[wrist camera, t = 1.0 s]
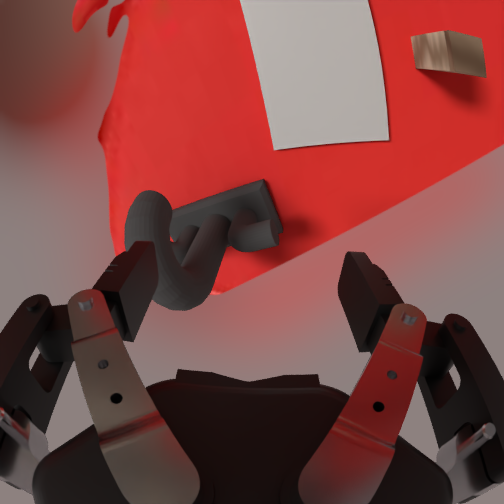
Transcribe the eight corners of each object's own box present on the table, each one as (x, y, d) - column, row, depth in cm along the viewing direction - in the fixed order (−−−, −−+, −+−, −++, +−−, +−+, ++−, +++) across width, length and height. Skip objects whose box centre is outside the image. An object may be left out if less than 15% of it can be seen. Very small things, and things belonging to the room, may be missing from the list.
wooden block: (410, 36, 22) (448, 30, 14) (439, 40, 21) (481, 38, 13) (415, 68, 25) (454, 71, 17) (443, 71, 24) (486, 77, 16)
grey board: (238, -8, 22) (237, -10, 21) (360, -18, 19) (361, -20, 18) (274, 148, 35) (274, 150, 34) (386, 138, 31) (388, 140, 30)
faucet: (247, 127, 33) (203, 188, 17) (286, 227, 42) (280, 339, 26) (137, 174, 39) (55, 252, 23) (184, 254, 47) (138, 351, 31)
